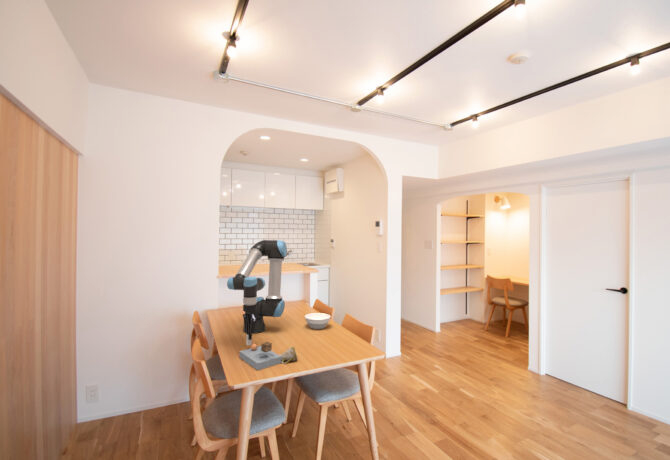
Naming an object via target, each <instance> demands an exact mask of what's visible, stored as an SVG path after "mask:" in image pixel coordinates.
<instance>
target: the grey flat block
mask: <svg viewBox="0 0 670 460" xmlns="http://www.w3.org/2000/svg"><path fill="white" fill-rule="evenodd" d="M238 357H239V358H240V359H241V360H242V361H244V362H245V363H246V364H248V365H249V366H250V367H252V368H254V369H255V370H257V371H261V370H263V369H266V368H269V367H274V366H276V365H279V364H282V361H281V356H280V354H278V353H276V352H274V351H273V350H271V351H269V352H263V351H261V345H259V346H258V345H257V349H256V350H252V349H251V347H250V348H247V349H244V350H243V349H242V350H239V356H238Z"/></svg>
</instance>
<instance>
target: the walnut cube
mask: <svg viewBox="0 0 670 460" xmlns="http://www.w3.org/2000/svg"><path fill="white" fill-rule="evenodd" d="M260 344H261V345H260V346H261V351H263V352H269V351H273V350H272V347H273V346H272V344H273V343H272V342H269V341H264V342H262V343H260Z"/></svg>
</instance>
